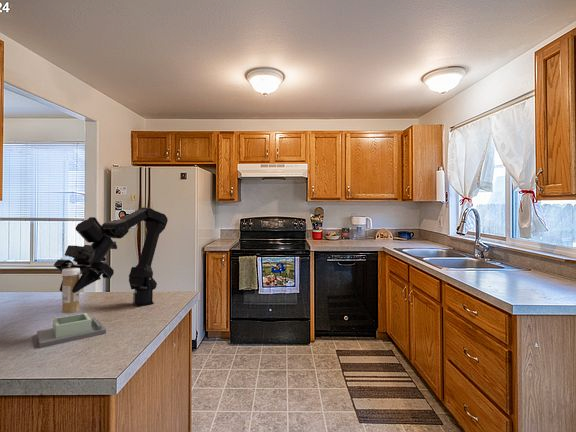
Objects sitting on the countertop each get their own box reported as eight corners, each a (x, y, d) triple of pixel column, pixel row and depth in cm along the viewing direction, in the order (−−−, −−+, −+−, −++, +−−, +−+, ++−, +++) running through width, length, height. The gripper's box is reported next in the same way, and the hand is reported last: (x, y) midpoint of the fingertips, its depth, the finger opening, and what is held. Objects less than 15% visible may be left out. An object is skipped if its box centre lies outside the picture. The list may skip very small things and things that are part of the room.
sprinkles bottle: (81, 311, 94) (82, 268, 94) (64, 315, 90) (64, 270, 90) (76, 308, 97) (76, 266, 97) (59, 312, 93) (59, 268, 93)
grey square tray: (97, 323, 103) (98, 309, 103) (106, 333, 94) (106, 318, 94) (37, 334, 92) (37, 319, 92) (39, 347, 83) (40, 330, 83)
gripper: (59, 235, 99) (23, 274, 89) (107, 236, 95) (75, 278, 85) (80, 255, 107) (49, 294, 96) (125, 258, 103) (98, 299, 92)
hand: (66, 291), depth 92 cm, fingers closed on sprinkles bottle, 4 cm apart
